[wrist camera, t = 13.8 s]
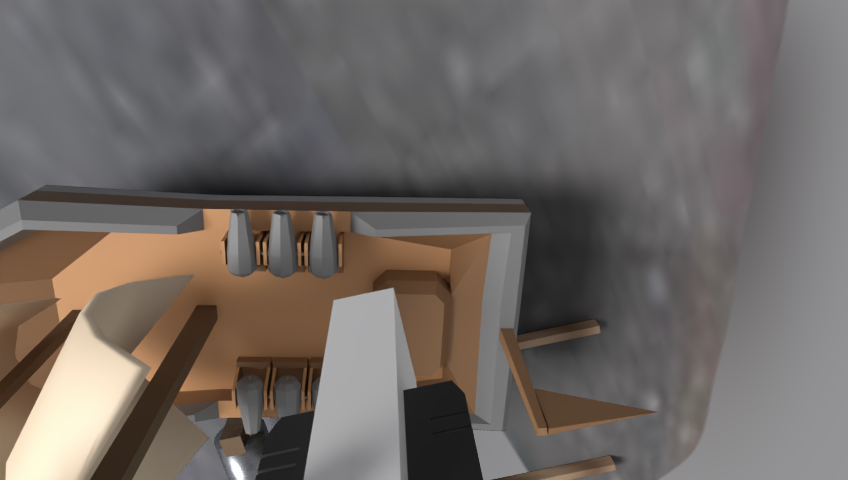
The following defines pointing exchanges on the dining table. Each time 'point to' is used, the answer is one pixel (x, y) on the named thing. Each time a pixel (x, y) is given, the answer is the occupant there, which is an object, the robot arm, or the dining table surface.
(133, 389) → the sailing ship
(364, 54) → the dining table surface
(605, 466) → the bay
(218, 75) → the dining table surface
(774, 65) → the dining table surface
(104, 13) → the dining table surface
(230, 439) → the winch
